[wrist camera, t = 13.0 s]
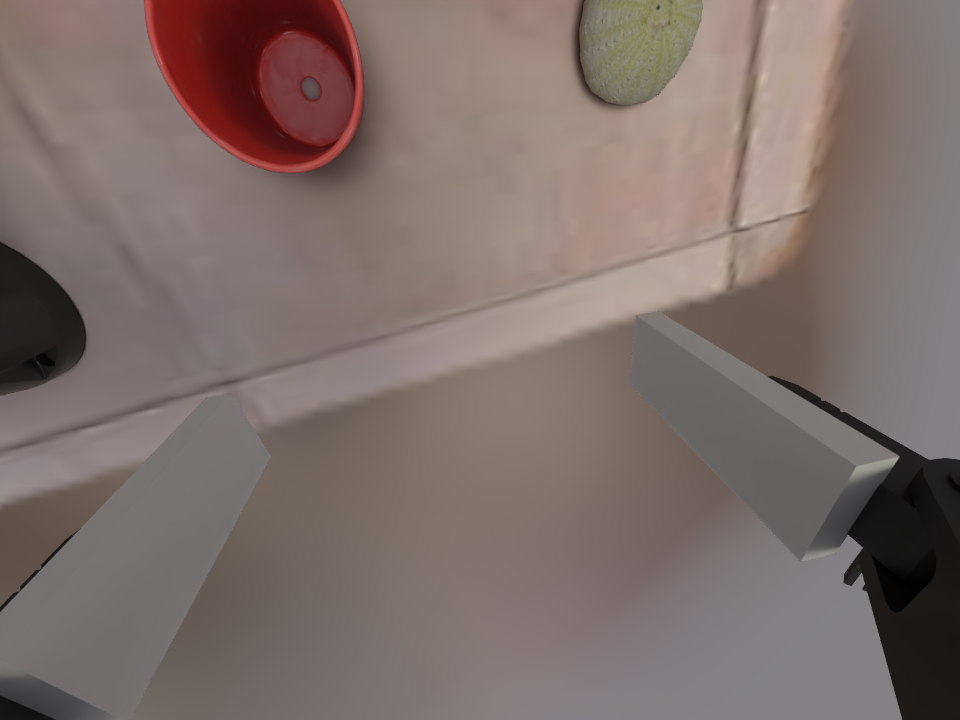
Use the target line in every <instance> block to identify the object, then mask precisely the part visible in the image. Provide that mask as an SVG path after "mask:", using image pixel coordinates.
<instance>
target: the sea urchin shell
mask: <svg viewBox="0 0 960 720" xmlns="http://www.w3.org/2000/svg"><path fill="white" fill-rule="evenodd" d="M702 9H703V3H702V0H585V1H584V5H583V13H582V19H581V24H580V29H579V31H580V32H579V35H580V36H579V41H580V58H581V60H580V62H581V64H582V68H583V71H584V76H585V81H586V83H587V84H588V86H589V88H590V89H591V91H592V92H594V94H596V95H598V96H599V97H601V98H602V99H603V100H605V102H610V103H614V104H620V105H626V106H627V105H628V106H630V105H632V104H637V103H644V102H647V101H649V100H650V99H652V98H654V97H655V96H657V95H659V93H661V91H662V90H663V89H664V88H665V86H666V85H667V84H668V83H669V81H670V80H671V79H672V78H674V77H675V74H677V72H678V70H679V68H680V66H681V64H682V62H683V61H684V59H685V58H686V56H688V53H689V51H690V50H691V47H692V45H693V41H694V38H695V35H696V33H697V30H698V27H699V24H700V22H701V21H702V20H701V16H702Z"/></svg>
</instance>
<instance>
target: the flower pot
mask: <svg viewBox="0 0 960 720" xmlns="http://www.w3.org/2000/svg"><path fill="white" fill-rule="evenodd" d="M144 9H145V20H146V27H147V32H148V37H149V40H150V44H151V47H152V51H153V53H154V56H155V59H156V61H157V64H158V67H159V69H160V71H161V73H162V75H163V77H164V79H165V81H166V83H167V85H168V86H169V88H170V90H171V91H172V93H173V94H174V96H175V98H176V99H177V101H178V102H179V104H180V105H181V106H182V108H183V109H184V111H185V112H186V113H187V114H188V116H189V117H190V118H191V119H192V120H193V122H194V123H195V124H196V125H197V126H198V127H199V128H200V129H201V130H202V131H203V132H204V133H205V134H206V135H207V136H208V137H209V138H210V139H211V140H212V141H214V142H215V143H216V144H217V145H219V146H220V147H221V148H223V149H224V150H226V151H227V152H228V153H230V154H232V155H233V156H235V157H237V158H238V159H240V160H242V161H244V162H246V163H248V164H251V165H253V166H255V167H258V168H261V169H265V170H268V171H273V172H279V173H301V172H307V171H311V170H314V169H317V168H320V167H322V166H324V165H326V164H327V163H329V162H331V161H332V160H333V159H335V158H336V157H337V156H338V155H340V154H341V153H342V152H343V151H344V149H345V148H346V147H347V146H348V145H349V143H350V142H351V141H352V139H353V138H354V136H355V134H356V132H357V130H358V128H359V125H360V122H361V119H362V114H363V107H364V75H363V68H362V62H361V56H360V52H359V47H358V43H357V40H356V37H355V34H354V30H353V28H352V25H351V22H350V20H349V18H348V15H347V13H346V11H345V8H344V6H343V4H342V2H341V0H144Z"/></svg>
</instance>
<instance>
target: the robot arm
mask: <svg viewBox="0 0 960 720" xmlns="http://www.w3.org/2000/svg"><path fill="white" fill-rule="evenodd" d="M84 343H85V336H84V329H83V325H82V322H81V319H80V317H79V315H78V313H77V311H76V309H75V307H74V306H73V304H72V303H71V301H70V300H69V298H68V297H67V296H66V294H65V293H64V292H63V291H62V290H61V288H60V287H59V286H58V285H57V284H56V283H55V282H54V281H53V280H52V279H51V278H50V277H49V276H48V275H46V274H45V273H44V272H43V271H42V270H41V269H39V268H38V267H37V266H36V265H34V264H33V263H31V262H30V261H29V260H27V259H26V258H24V257H23V256H21V255H20V254H18V253H16V252H15V251H13V250H11V249H10V248H8V247H6V246H4V245H2V244H0V396H1V395H5V394H10V393H14V392H18V391H22V390H27V389H30V388H33V387H36V386H39V385H42V384H44V383H46V382H48V381H50V380H51V379H53V378H55V377H57V376H59V375H61V374H62V373H64V372H66V371H68V370H69V369H71V368H72V367H73V366H74V365H75V364H76V363H77V362H78V360H79V359H80V357H81V355H82V352H83V349H84ZM630 385H631V386H632V387H633V388H634V389H635V390H636V391H637V392H638V393H639V394H640V395H641V396H642V398H644V400H645V401H646V402H647V403H648V404H649V405H650V406H651V407H652V408H653V409H654V410H655V411H656V412H657V413H658V414H659V415H660V416H661V417H662V418H663V419H664V420H665V421H666V422H667V424H668V425H669V426H670V427H671V428H672V429H673V430H674V431H675V432H676V433H677V434H678V435H679V436H680V437H681V438H682V439H683V440H684V441H685V442H686V443H687V444H688V445H689V446H690V447H691V448H692V449H693V451H694V452H695V453H696V454H697V455H698V456H699V457H700V458H701V459H702V460H703V461H704V462H705V463H706V464H707V465H708V466H709V467H710V468H711V469H712V470H713V471H714V472H715V473H716V474H717V476H718V477H719V478H720V479H721V480H723V482H724V483H725V484H726V485H727V486H728V487H729V488H730V489H731V490H732V491H733V492H734V493H735V494H736V495H737V496H738V497H739V498H740V499H741V500H742V501H743V503H744V504H745V505H746V506H747V507H748V508H749V509H750V510H751V511H752V512H753V513H754V514H755V515H756V516H757V517H758V518H759V519H760V520H761V521H762V522H763V523H764V524H765V525H766V526H767V527H768V529H769V530H771V532H772V533H773V534H774V535H775V536H776V537H777V538H778V539H779V540H780V541H781V542H782V543H783V544H784V545H785V546H786V547H787V548H788V549H789V550H790V551H791V552H792V554H794V556H795V557H796V558H797V559H798V560H799V561H800V562H802V561H806V560H810V559H814V558H818V557H823V556H827V555H831V554H835V553H836V552H837V550H838V549H839V547H840V546H841V544H842V543H843V541H844V540H845V538H846V537H847V535H849V536H850V537H851V538H853V539H854V540H855V541H856V542H857V543H858V544H860V545H861V546H862V547H863V549H862V550H861V551H860V553H859V554H858V555H857V557H856V558H855V560H854V561H853V563H852V564H851V565H850V566H849V568H848V569H847V571H846V572H845V574H844V583H845V584H847V585H850V586H852V584H853V583H854V582H855V581H856V579H857V578H858V576H859V575H860V574H861V573H862V574H863V578H864V582H865V585H864V587H863V590H864V591H867V593H868V596H869V600H870V603H871V607H872V611H873V614H874V618H875V621H876V625H877V629H878V632H879V636H880V640H881V644H882V647H883V651H884V654H885V658H886V662H887V665H888V669H889V673H890V676H891V680H892V684H893V687H894V691H895V695H896V698H897V702H898V705H899V709H900V713H901V716H902V720H960V460H956V459H948V458H942V459H934V460H929V459H927V458H924V457H923V456H921V455H919V454H917V453H916V452H914V451H912V450H910V449H909V448H907V447H905V446H903V445H902V444H900V443H898V442H896V441H895V440H893V439H891V438H889V437H888V436H886V435H884V434H882V433H881V432H879V431H877V430H876V429H874V428H872V427H870V426H869V425H867V424H865V423H863V422H862V421H860V420H858V419H856V418H855V417H853V416H851V415H849V414H848V413H846V412H841V411H840V409H839V408H837V407H835V406H834V405H832V404H830V403H828V402H826V401H821V398H819V397H818V396H816V395H814V394H813V393H811V392H809V391H808V390H806V389H804V388H802V387H800V386H799V385H796V384H793V383H791V382H788V381H785V380H782V379H779V378H777V377H774V376H768V377H767V376H765V375H763V374H762V373H760V372H758V371H757V370H755V369H753V368H752V367H750V366H748V365H747V364H745V363H743V362H742V361H740V360H738V359H737V358H735V357H733V356H732V355H730V354H728V353H727V352H725V351H723V350H722V349H720V348H718V347H717V346H715V345H713V344H712V343H710V342H708V341H707V340H705V339H703V338H702V337H700V336H698V335H697V334H695V333H694V332H692V331H690V330H689V329H687V328H685V327H684V326H682V325H680V324H678V323H677V322H675V321H674V320H672V319H670V318H669V317H667V316H665V315H664V314H662V313H660V312H659V311H657V312H651V313H646V314H641V315H636V321H635V331H634V342H633V352H632V362H631V373H630ZM270 458H271V456H270V455H269V453H268V452H267V450H266V448H265V447H264V445H263V444H262V442H261V440H260V439H259V437H258V435H257V434H256V432H255V431H254V429H253V427H252V426H251V424H250V423H249V421H248V419H247V418H246V416H245V415H244V413H243V411H242V410H241V408H240V407H239V405H238V403H237V402H236V400H235V399H234V397H233V395H232V394H231V393H230V394H225V395H220V396H215V397H210V398H206V399H205V400H204V401H203V402H202V403H201V404H200V405H199V406H198V407H197V408H196V409H195V410H194V411H193V412H192V413H191V414H190V415H189V416H188V417H187V418H186V419H185V421H184V422H183V423H182V424H181V425H180V426H179V427H178V428H177V429H176V430H175V431H174V432H173V433H172V434H171V435H170V436H169V437H168V438H167V439H166V440H165V441H164V442H163V443H162V444H161V445H160V447H159V448H158V449H157V450H156V451H155V452H154V453H153V454H152V455H151V456H150V457H149V458H148V459H147V460H146V461H145V462H144V463H143V464H142V465H141V466H140V467H139V468H138V469H137V470H136V471H135V473H134V474H133V475H132V476H131V477H130V478H129V479H128V480H127V481H126V482H125V483H124V484H123V485H122V486H121V487H120V488H119V489H118V490H117V491H116V492H115V493H114V494H113V495H112V496H111V498H110V499H109V500H108V501H107V502H106V503H105V504H104V505H103V506H102V507H101V508H100V509H99V510H98V511H97V512H96V513H95V514H94V516H92V517H91V518H90V520H89V521H88V522H87V523H85V525H84V526H83V527H82V528H80V529H79V530H78V531H77V532H75V533H74V534H73V535H71V536H70V537H69V538H67V539H66V540H65V541H64V542H63V543H62V544H61V545H60V546H59V547H58V548H57V549H56V550H55V551H54V552H53V553H52V554H51V555H50V556H49V557H48V558H47V560H46V561H45V562H44V563H43V564H42V565H41V566H42V567H41V569H40V570H36V571H35V572H34V573H33V574H32V575H31V576H30V577H29V578H28V579H27V580H26V581H25V582H24V583H23V584H22V585H21V586H20V591H19V592H15V593H14V594H12V596H11V597H10V598H9V599H8V600H7V601H6V602H5V603H4V604H3V605H2V606H1V607H0V720H130V718H131V716H132V714H133V713H134V711H135V709H136V707H137V705H138V703H139V701H140V700H141V698H142V696H143V694H144V692H145V690H146V688H147V686H148V685H149V683H150V681H151V679H152V677H153V675H154V674H155V672H156V670H157V668H158V666H159V664H160V662H161V660H162V658H163V657H164V655H165V653H166V651H167V649H168V647H169V646H170V644H171V642H172V640H173V638H174V636H175V634H176V633H177V631H178V629H179V627H180V625H181V623H182V621H183V619H184V618H185V616H186V614H187V612H188V610H189V608H190V606H191V605H192V603H193V601H194V599H195V597H196V595H197V593H198V592H199V590H200V588H201V586H202V584H203V582H204V580H205V579H206V576H207V575H208V573H209V571H210V569H211V567H212V566H213V564H214V562H215V560H216V558H217V556H218V554H219V552H220V551H221V549H222V547H223V545H224V543H225V541H226V539H227V537H228V536H229V534H230V532H231V530H232V528H233V526H234V524H235V523H236V521H237V519H238V517H239V515H240V513H241V512H242V509H243V508H244V506H245V504H246V502H247V500H248V499H249V497H250V495H251V493H252V491H253V489H254V487H255V485H256V484H257V482H258V480H259V478H260V476H261V474H262V472H263V471H264V469H265V467H266V465H267V463H268V461H269V459H270Z"/></svg>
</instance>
